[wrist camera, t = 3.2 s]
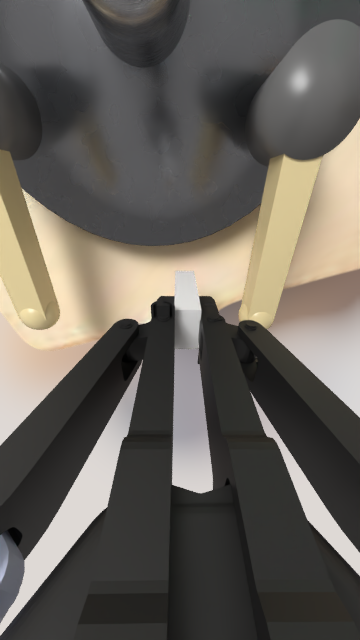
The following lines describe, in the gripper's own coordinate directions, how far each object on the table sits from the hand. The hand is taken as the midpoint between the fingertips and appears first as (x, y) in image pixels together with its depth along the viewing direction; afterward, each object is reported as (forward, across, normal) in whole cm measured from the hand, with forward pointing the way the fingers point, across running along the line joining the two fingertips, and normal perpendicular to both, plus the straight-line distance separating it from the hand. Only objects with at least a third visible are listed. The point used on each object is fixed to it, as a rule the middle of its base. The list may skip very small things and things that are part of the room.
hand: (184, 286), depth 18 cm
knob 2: (+3, +6, +5) cm, 9 cm away
